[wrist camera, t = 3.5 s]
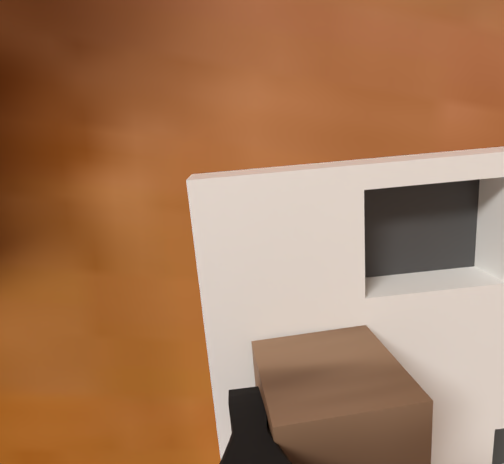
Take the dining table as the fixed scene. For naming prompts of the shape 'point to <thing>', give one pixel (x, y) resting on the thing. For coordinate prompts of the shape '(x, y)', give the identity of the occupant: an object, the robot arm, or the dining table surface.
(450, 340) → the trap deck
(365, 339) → the walnut block
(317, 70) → the dining table surface
